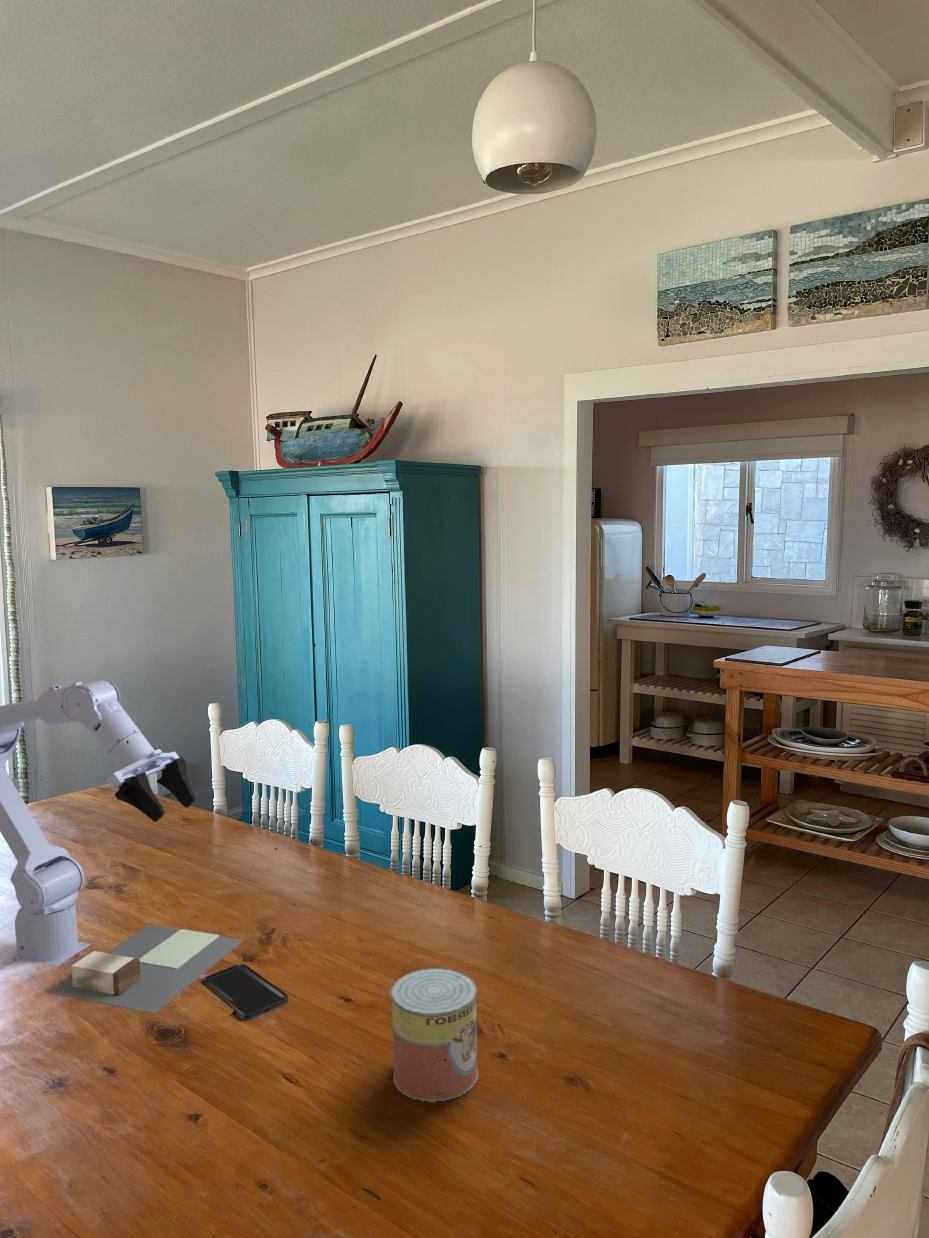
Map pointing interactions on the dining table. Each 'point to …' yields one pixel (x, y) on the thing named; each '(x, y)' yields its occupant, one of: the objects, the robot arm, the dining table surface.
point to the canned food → (434, 1034)
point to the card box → (106, 973)
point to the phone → (245, 991)
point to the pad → (178, 949)
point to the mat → (153, 972)
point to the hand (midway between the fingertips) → (176, 810)
